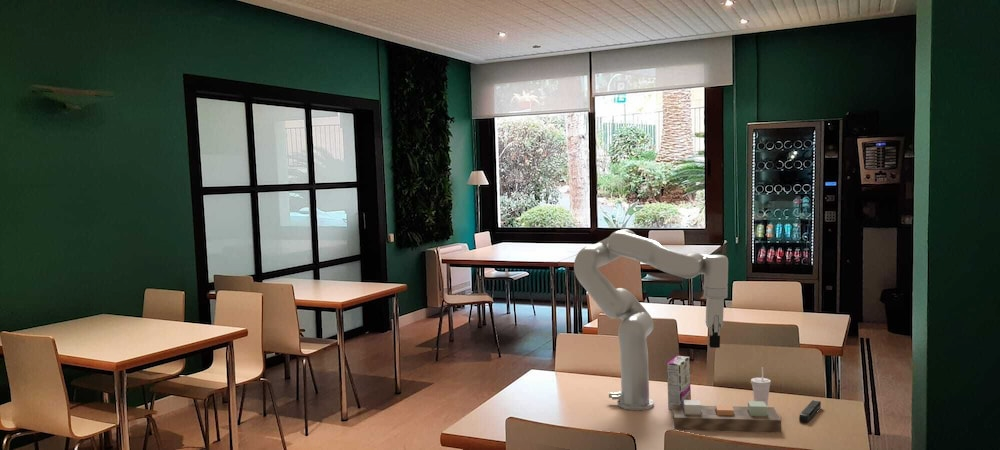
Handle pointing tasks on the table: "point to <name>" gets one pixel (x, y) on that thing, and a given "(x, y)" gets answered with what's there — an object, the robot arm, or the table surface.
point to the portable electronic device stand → (809, 411)
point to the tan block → (724, 410)
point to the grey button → (692, 407)
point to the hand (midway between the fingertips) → (714, 346)
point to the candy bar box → (678, 381)
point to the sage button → (757, 408)
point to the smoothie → (761, 388)
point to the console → (726, 420)
